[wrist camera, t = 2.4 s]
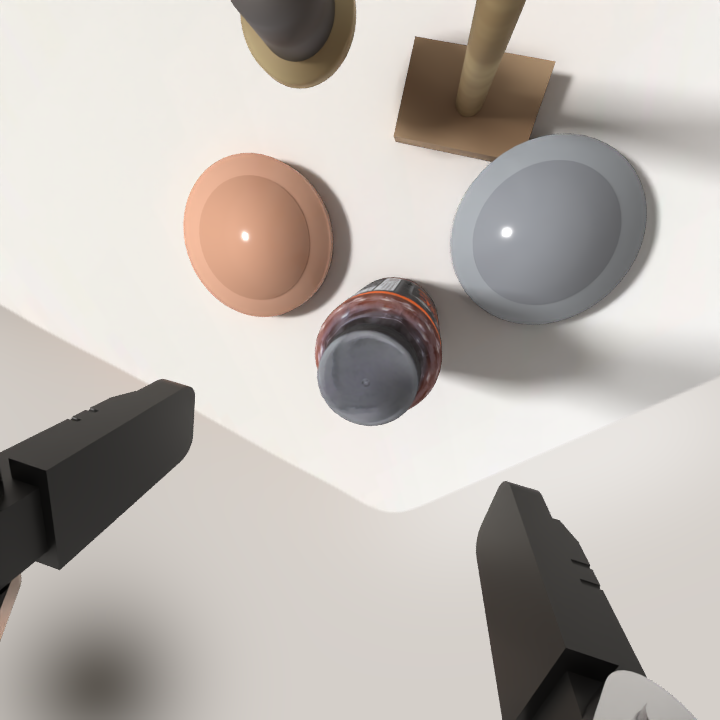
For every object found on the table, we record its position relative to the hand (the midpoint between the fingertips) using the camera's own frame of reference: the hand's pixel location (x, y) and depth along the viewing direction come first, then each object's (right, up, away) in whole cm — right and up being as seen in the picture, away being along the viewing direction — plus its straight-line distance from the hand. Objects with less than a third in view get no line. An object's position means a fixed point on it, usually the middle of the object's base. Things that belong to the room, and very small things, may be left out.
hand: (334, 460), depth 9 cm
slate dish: (+11, +10, +12) cm, 19 cm away
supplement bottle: (+3, +5, +15) cm, 16 cm away
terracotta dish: (-6, +11, +15) cm, 19 cm away
